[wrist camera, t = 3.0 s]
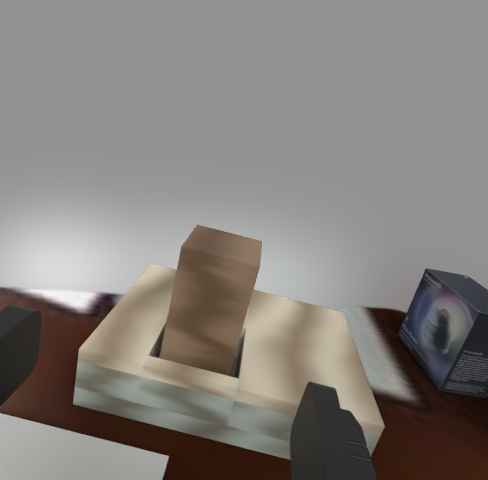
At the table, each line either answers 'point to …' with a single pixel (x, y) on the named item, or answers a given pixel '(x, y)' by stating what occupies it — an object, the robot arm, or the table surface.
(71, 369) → the table surface
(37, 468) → the grey pad
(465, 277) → the small box
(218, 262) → the brown wooden block
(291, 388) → the slotted wooden base
